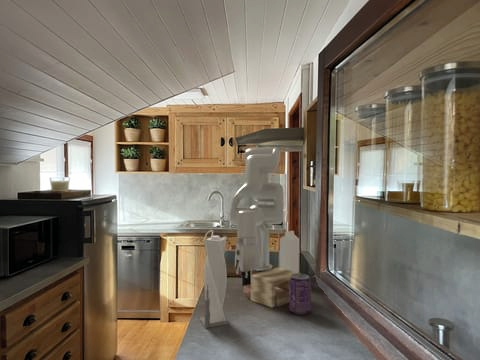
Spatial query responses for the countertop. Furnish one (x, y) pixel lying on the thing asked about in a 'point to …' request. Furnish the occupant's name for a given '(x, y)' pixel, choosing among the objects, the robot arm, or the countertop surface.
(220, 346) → the countertop surface
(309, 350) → the countertop surface
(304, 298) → the beverage can
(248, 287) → the tile
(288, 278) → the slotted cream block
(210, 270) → the skyscraper
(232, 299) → the countertop surface
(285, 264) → the milk
